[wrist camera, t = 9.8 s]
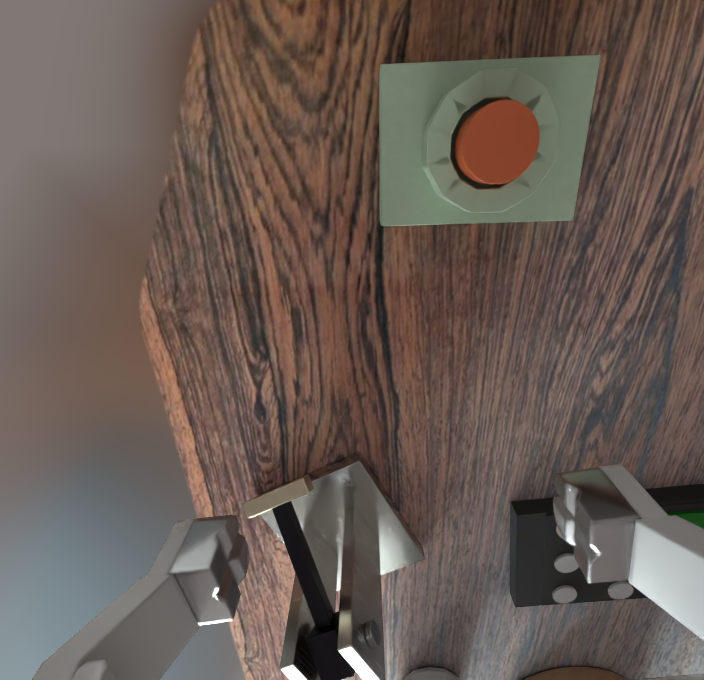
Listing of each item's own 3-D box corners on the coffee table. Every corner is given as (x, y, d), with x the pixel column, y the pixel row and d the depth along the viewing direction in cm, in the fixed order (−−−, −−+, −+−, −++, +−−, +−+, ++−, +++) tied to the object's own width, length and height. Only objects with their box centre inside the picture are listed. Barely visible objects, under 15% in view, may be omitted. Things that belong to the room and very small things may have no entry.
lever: (254, 496, 30) (236, 506, 28) (312, 471, 29) (299, 479, 27) (316, 666, 28) (303, 692, 25) (381, 645, 27) (374, 670, 24)
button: (452, 184, 21) (459, 185, 20) (456, 106, 20) (465, 100, 18) (521, 182, 21) (534, 183, 20) (531, 103, 20) (545, 97, 18)
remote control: (857, 565, 36) (884, 587, 34) (509, 591, 38) (517, 613, 37) (904, 465, 32) (937, 483, 30) (510, 501, 34) (518, 520, 32)
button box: (379, 221, 26) (382, 230, 22) (378, 73, 23) (381, 54, 19) (556, 216, 25) (589, 224, 22) (579, 64, 22) (622, 43, 19)
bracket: (256, 495, 35) (208, 644, 24) (359, 451, 33) (358, 591, 22) (327, 582, 39) (313, 744, 28) (423, 547, 37) (448, 708, 26)
